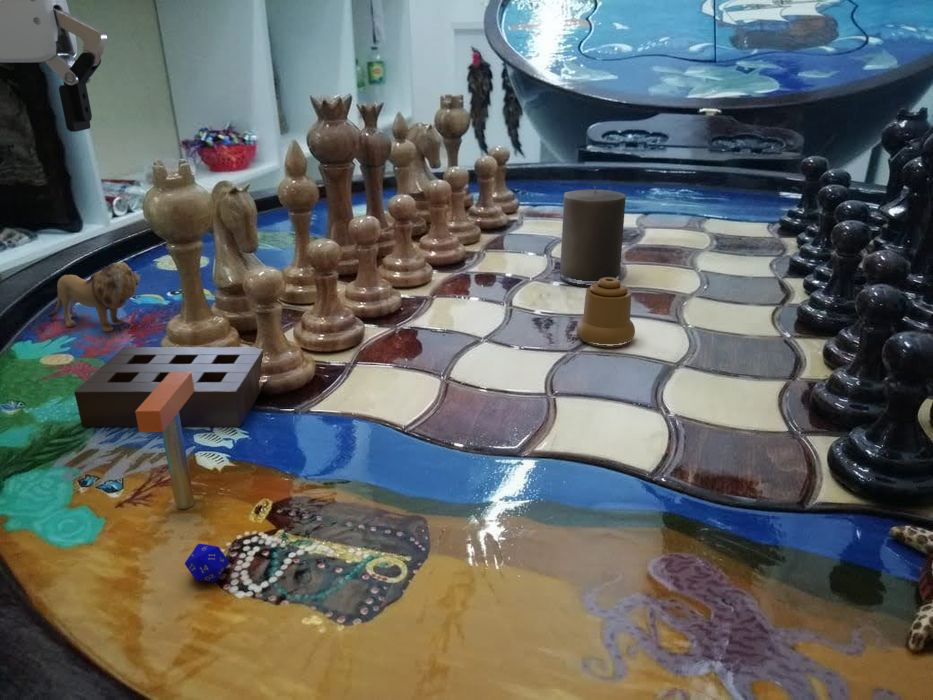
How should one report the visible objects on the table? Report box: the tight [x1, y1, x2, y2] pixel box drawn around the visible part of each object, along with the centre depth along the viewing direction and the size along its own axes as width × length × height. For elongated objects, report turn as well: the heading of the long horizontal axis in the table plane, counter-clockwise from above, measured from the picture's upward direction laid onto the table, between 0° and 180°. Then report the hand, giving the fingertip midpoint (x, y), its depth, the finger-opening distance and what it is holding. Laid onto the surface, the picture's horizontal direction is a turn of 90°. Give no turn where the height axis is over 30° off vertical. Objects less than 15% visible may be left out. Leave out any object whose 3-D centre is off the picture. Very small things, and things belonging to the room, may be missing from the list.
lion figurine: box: [46, 261, 141, 333], centre depth 99 cm, size 15×5×9 cm, turn 79°
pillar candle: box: [559, 185, 627, 288], centre depth 117 cm, size 10×10×15 cm
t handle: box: [135, 372, 195, 510], centre depth 60 cm, size 2×7×11 cm, turn 0°
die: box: [184, 543, 230, 583], centre depth 53 cm, size 3×3×3 cm
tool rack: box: [74, 346, 266, 428], centre depth 78 cm, size 11×16×4 cm
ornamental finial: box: [576, 277, 636, 349], centre depth 94 cm, size 8×8×8 cm
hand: (27, 130), depth 68 cm, fingers open, 9 cm apart
